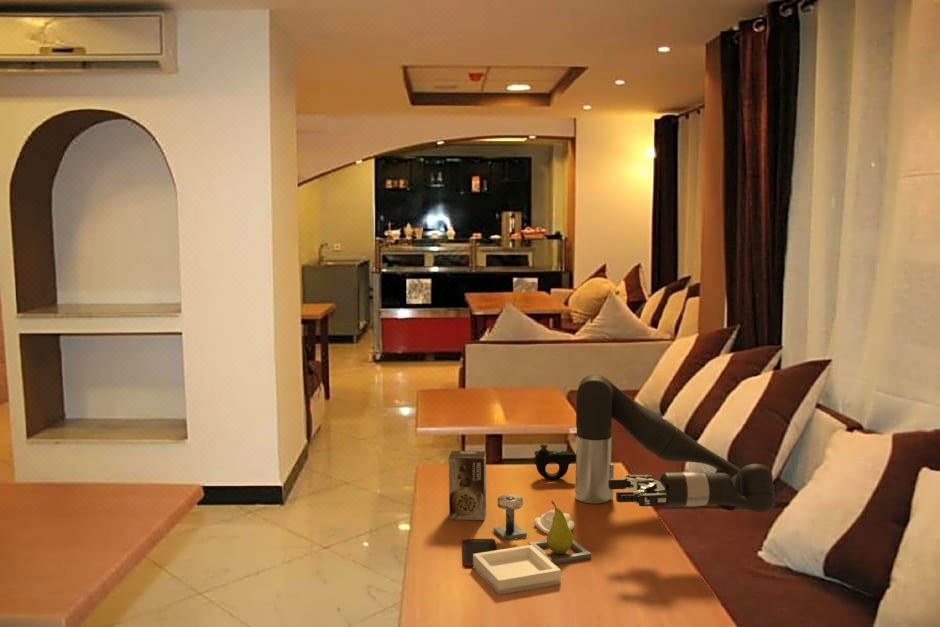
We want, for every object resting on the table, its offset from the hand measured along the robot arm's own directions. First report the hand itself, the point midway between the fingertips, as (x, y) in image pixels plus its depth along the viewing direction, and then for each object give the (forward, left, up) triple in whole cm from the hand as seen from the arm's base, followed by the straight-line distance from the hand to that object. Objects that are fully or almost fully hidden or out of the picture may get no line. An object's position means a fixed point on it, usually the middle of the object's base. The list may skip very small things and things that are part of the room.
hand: (612, 490), depth 185 cm
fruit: (+11, -5, -15) cm, 19 cm away
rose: (+5, -19, -15) cm, 25 cm away
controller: (-12, -52, -15) cm, 55 cm away
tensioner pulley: (+17, -19, -15) cm, 29 cm away
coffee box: (+22, -34, -15) cm, 43 cm away
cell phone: (+28, -11, -15) cm, 33 cm away
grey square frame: (+11, -5, -15) cm, 19 cm away
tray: (+25, +2, -15) cm, 29 cm away
